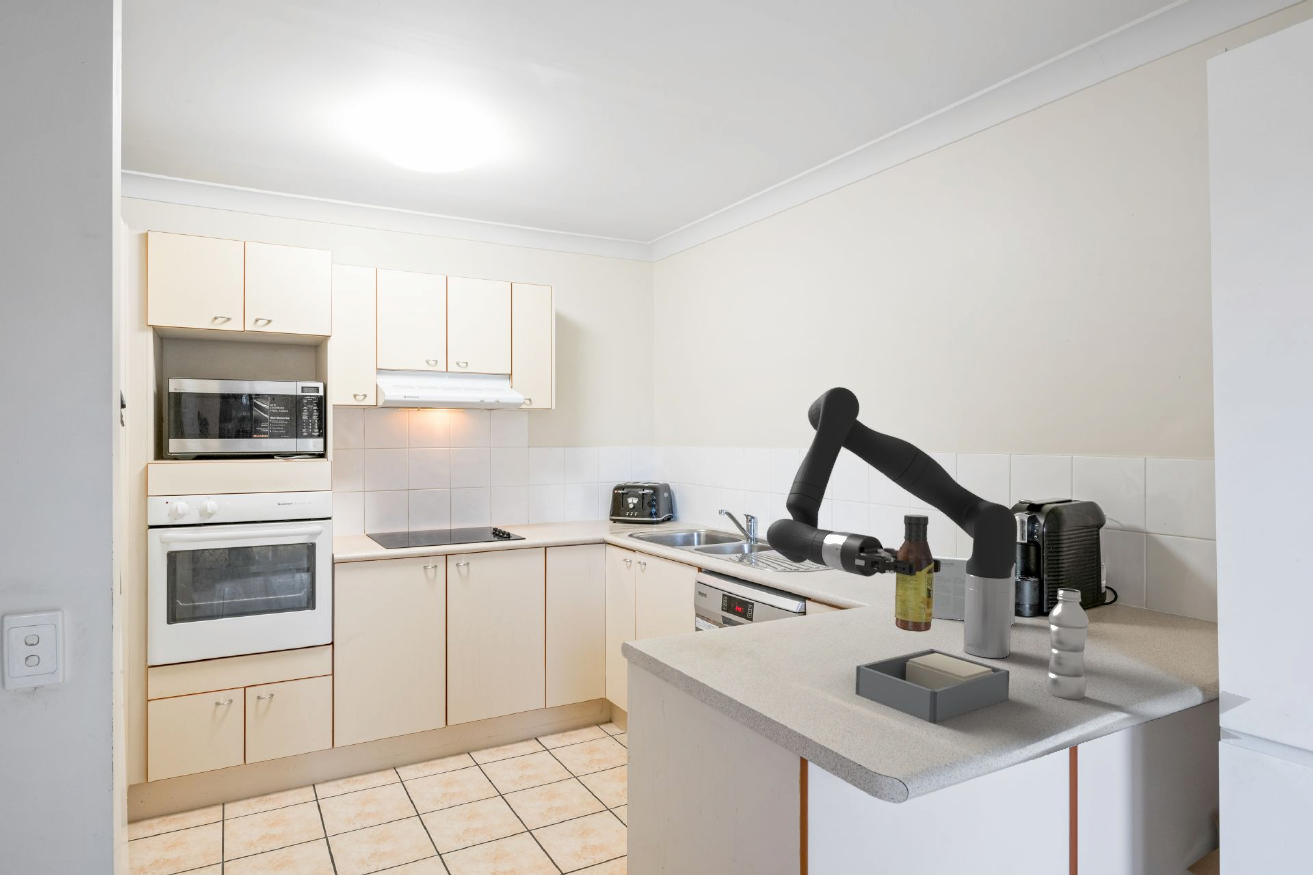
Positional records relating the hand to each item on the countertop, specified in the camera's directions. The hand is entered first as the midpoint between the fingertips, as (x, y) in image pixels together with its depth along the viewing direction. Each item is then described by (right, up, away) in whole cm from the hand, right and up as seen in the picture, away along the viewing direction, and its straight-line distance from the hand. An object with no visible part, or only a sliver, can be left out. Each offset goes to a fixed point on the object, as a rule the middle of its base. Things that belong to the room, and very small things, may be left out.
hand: (927, 568), depth 133 cm
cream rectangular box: (+7, -24, +7) cm, 26 cm away
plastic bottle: (+28, -26, +8) cm, 39 cm away
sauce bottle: (-2, -11, +2) cm, 11 cm away
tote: (+2, -25, +5) cm, 25 cm away
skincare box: (+35, -25, +68) cm, 80 cm away
